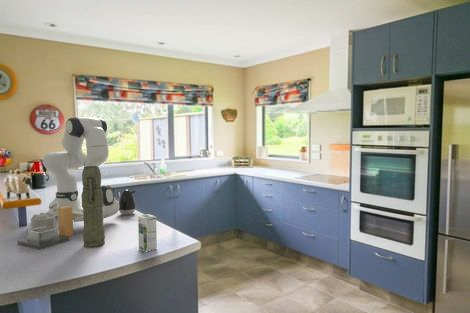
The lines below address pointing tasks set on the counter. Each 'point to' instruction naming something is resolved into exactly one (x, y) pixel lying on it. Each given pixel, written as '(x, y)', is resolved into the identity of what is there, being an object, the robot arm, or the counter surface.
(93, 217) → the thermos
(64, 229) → the tall orange pillar
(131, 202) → the black kettle
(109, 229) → the counter surface
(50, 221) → the lumpy-topped squat cylinder
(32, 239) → the grey rail base plate
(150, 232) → the syrup box
